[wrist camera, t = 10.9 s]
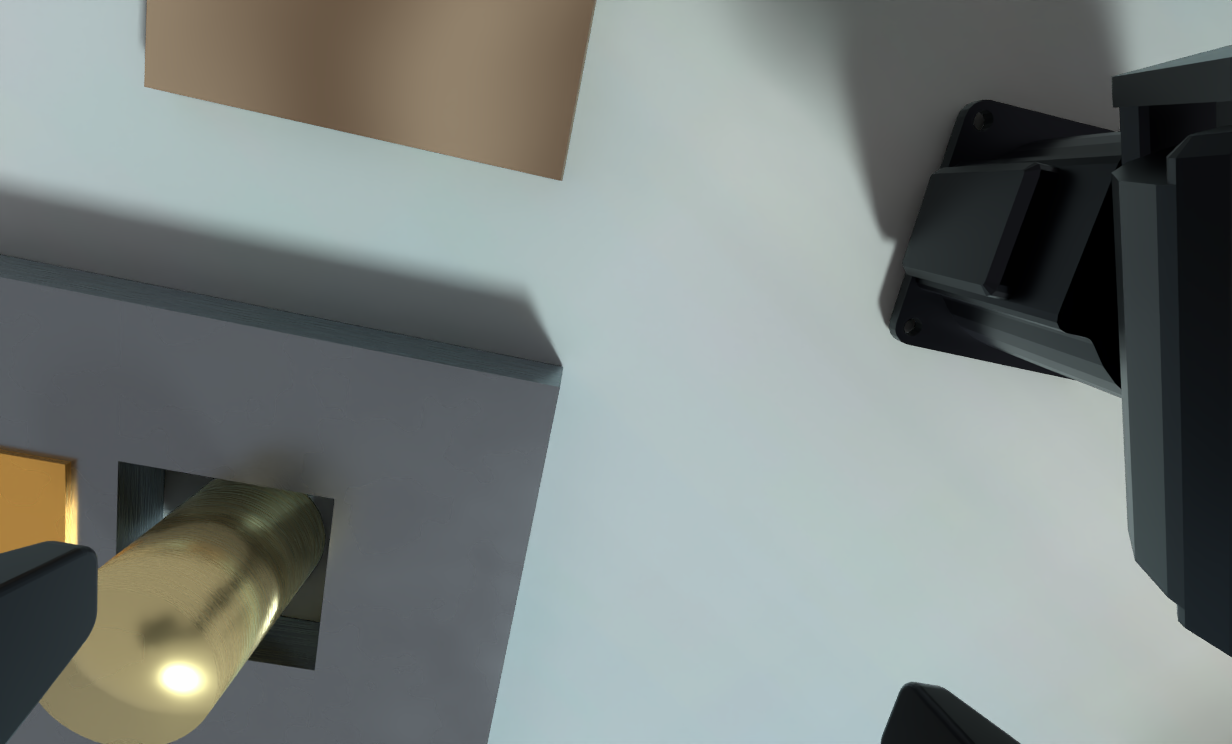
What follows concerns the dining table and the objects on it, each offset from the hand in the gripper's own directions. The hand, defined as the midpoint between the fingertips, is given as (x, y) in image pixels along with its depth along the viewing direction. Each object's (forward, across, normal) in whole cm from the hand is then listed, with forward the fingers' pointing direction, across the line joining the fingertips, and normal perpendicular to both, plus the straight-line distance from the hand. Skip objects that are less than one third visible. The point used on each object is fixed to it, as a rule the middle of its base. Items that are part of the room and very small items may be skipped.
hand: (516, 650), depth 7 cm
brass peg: (+12, +8, +7) cm, 16 cm away
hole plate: (+12, +8, +7) cm, 16 cm away
